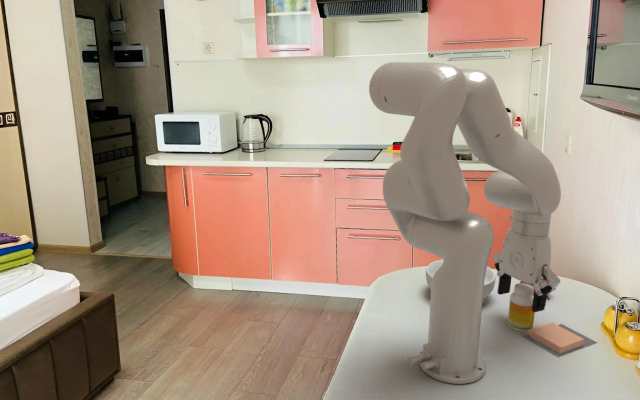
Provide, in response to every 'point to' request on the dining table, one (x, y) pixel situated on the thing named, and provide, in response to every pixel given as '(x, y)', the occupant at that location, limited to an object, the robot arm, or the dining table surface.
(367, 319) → the dining table surface
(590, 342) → the rubber mat
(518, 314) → the supplement bottle
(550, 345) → the tile
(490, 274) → the cereal bowl
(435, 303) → the robot arm
